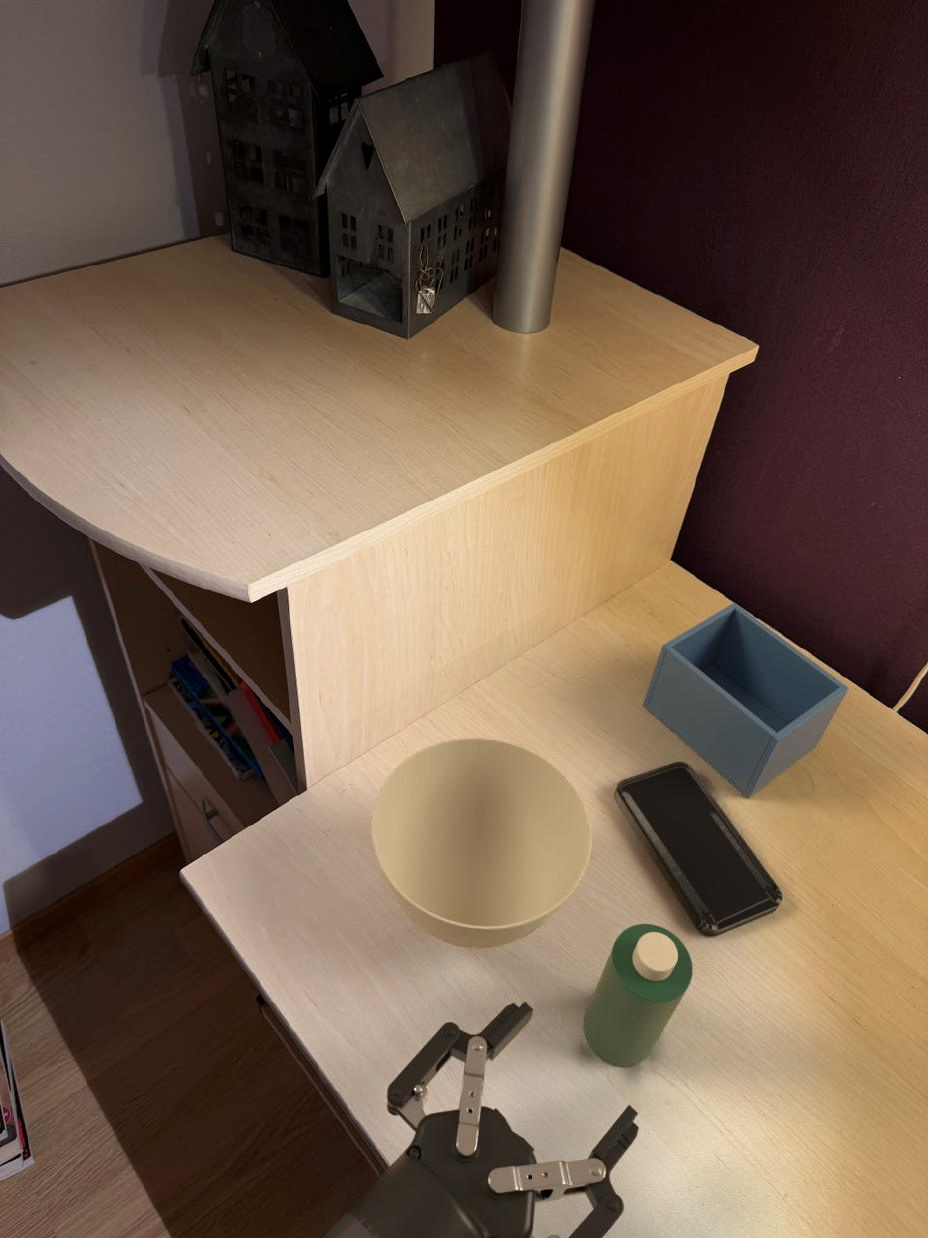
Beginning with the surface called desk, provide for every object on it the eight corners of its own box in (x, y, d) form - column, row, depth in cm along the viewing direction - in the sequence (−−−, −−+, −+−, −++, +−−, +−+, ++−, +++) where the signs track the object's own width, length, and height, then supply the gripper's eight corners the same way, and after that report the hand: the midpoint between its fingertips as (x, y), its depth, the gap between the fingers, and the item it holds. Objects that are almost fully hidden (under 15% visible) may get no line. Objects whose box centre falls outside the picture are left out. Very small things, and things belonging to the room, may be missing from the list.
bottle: (669, 1037, 66) (715, 959, 57) (619, 1083, 63) (659, 1009, 54) (618, 980, 68) (655, 898, 60) (568, 1021, 66) (599, 942, 57)
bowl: (435, 1033, 65) (444, 972, 58) (336, 859, 74) (332, 788, 67) (610, 928, 71) (637, 862, 64) (499, 780, 81) (511, 708, 74)
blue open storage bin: (816, 747, 86) (849, 688, 80) (748, 799, 81) (778, 740, 75) (710, 662, 93) (734, 602, 87) (642, 705, 88) (662, 645, 82)
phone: (708, 934, 70) (612, 783, 80) (704, 941, 71) (609, 790, 81) (789, 900, 73) (686, 758, 82) (785, 907, 74) (683, 765, 83)
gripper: (488, 1394, 43) (685, 1129, 51) (299, 1150, 49) (502, 953, 58) (475, 1410, 48) (655, 1167, 57) (306, 1188, 55) (491, 1002, 63)
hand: (577, 1059), depth 57 cm, fingers open, 8 cm apart
